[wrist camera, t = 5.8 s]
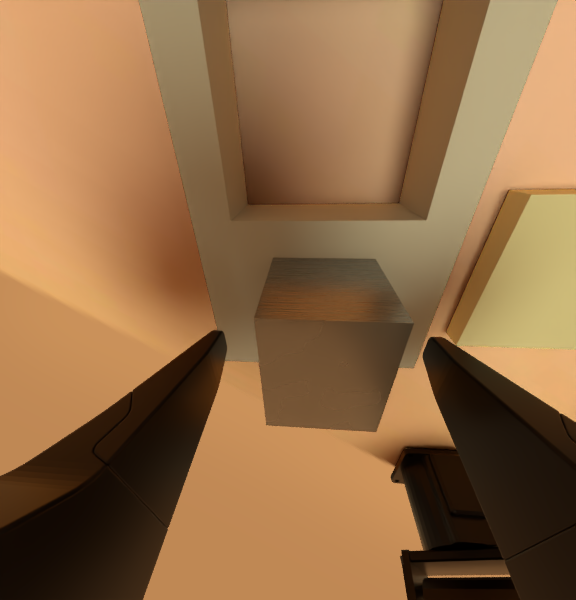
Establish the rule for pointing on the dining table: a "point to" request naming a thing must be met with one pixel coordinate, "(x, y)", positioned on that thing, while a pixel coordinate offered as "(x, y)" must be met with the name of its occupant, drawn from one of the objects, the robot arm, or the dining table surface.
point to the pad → (524, 277)
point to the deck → (342, 217)
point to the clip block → (328, 342)
